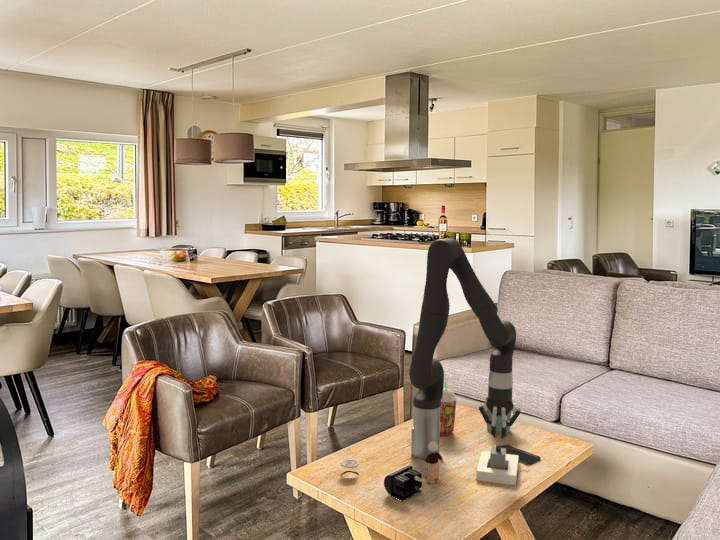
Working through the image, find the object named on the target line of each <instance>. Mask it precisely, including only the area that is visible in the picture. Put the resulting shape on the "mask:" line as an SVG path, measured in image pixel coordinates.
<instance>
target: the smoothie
mask: <svg viewBox="0 0 720 540" xmlns="http://www.w3.org/2000/svg"><path fill="white" fill-rule="evenodd" d="M456 407H457V397H456V395H455V392H454V391H453V390H452V389H450V388H448V387H447V380H445V381H444V387H443V396H442V399H441V402H440V435H441V436H446V437H447V436H451V435H452V434H453V432H454V430H455V420H456V419H455V418H456V409H457V408H456Z"/></svg>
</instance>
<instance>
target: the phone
mask: <svg viewBox="0 0 720 540" xmlns="http://www.w3.org/2000/svg"><path fill="white" fill-rule="evenodd" d="M501 448H506V454H511V455H519V460H518V463H520V464H523V465H525V466H531V465H533V464H536V463H537V462H540V461H541V456H539V455H536V454H533V453H531V452H528V451H525V450H524V449H523V450H522V449H520V448H518V447H514V446H512V445H510V444H503V445H502V444H501Z"/></svg>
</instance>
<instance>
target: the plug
mask: <svg viewBox="0 0 720 540" xmlns="http://www.w3.org/2000/svg"><path fill="white" fill-rule="evenodd" d="M501 446H502V444H500V443H496V444H495V446H492V447H491V450H490V452H491V453H490V468H494V469H501V470H505V468H506V448H501Z"/></svg>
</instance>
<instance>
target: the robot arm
mask: <svg viewBox="0 0 720 540" xmlns="http://www.w3.org/2000/svg"><path fill="white" fill-rule="evenodd" d="M450 270H451V271H452V272H453V274H454V275H455V277H456V279H457V280H458V282H459V284H460V286H461V290H462V293H463V297H464V298H465V301H466V303H467V304H468V306H469V307H470V309H471V311H472V312H473V313H474V315H475V317H477V319H478V321H479V323H480V326H481V329H482V330H483V333H484V335H485V337H486V339H487V340H488V341H489V342H490V343H491V344H492V345H493V350H492V351H491V353H490V356H489V371H488V380H487V381H488V385H487V397H488V400H487V402H486V404H485V403H484V404H480V405H479V406H478V411H479V413H480V414H481V416H482V418H483V419H484V422H485V424H486V425H487V424H490V425H491V426H492V428H491V432H490V434H491V436H492V437H493V438H495V439H496V437H497V434H496V418H497V416H501V417H502V432H501V434H500V435H501V436H500V437H501V439H504V438H505V437H506V436H507V434H506V427H508V426H510V427H512V426H513V425H514V423H515V421H517V418H518V417H519V416H520V414H521V409H520V408H519V407H518V408H517V407H516V406H514V402H512V401H513V387H514V386H513V385H514V381H513V380H514V378H513V377H514V376H513V356H514V351H515V346H516V341H517V330H516V326H515V325H514V324H513V323H512V322H511V321H508V320H503V321H502V320H501V318H500V316H499V315H498V312H499V309H498V307H497V304H496V303H495V301H494V300H493V299H492V298H491V296H490V294H489V293H488V292H487V290H486V289H485V288H484V285H483V284H482V282H481V281H480V280H479V279H480V278H479V277H478V276H477V275H476V272H475V271H474V269H473V267H472V265H471V263H470V261H469V259H468V257H467V255H466V253H465V251H464V249H463V247H462V245H461V243H460V242H459V241H458V240H456V239H455V238H452V237H451V238H450V237H446V238H440V239H436V240H434V241H433V242H431V244H430V245H429V247H428V249H427V258H426V274H425V283H424V290H423V297H422V303H421V309H420V317H419V325H418V329H417V330H418V331H417V334H416V335H417V336H416V341H415V347H414V351H413V355H412V357H411V363H410V366H409V373H408V374H409V375H408V376H409V380H410V383H411V385H413V387H414V388H416V389H418V390H417V392H416V394H415V395H414V396H413V399H412V401H413V402H412V406H413V407H412V408H413V411H412V427H411V433H410V436H411V439H410V440H411V441H410V442H411V445H410V451H411V452H410V455H411V456H415V457H417V458H419V459H424V460H425V459H426V457H427V456H428V455H429V454H431V452H430V451H429V449H428V444H429V443H430V442H433V441H434V442H436V443H437V444H438V446H439V448H438V450H437V453H439V454H440V447H441V446H440V444H441V443H440V439H441V438H440V402H441V399H442V396H443V388H444V386H445V381H444V380H445V371H444V366H443V364H442V363H441V362H440V360H439V359H437V358H434V354H435V350H436V349H437V347H438V344H439V343H440V341H441V339H442V337H443V335H444V334H445V331H446V329H447V326H448V321H449V315H450V307H451V306H450V298H449V294H448V289H447V287H448V286H447V285H448V284H447V282H448V276H449V271H450ZM486 407H488V409H489V410H490V412H491V413H492V420H491V419H490V418H489V416H488V414H487V412H486V410H487V408H486ZM511 410H512V411H511ZM510 411H511V412H512V415H511V419H510V420H509V421H507V415H508V413H509V412H510Z"/></svg>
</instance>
